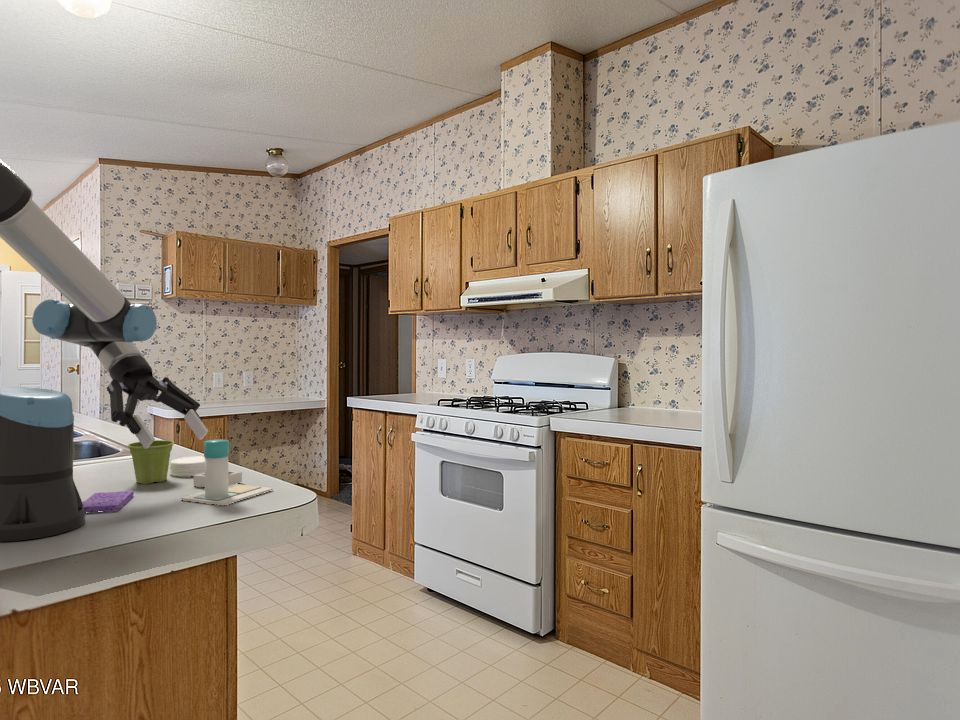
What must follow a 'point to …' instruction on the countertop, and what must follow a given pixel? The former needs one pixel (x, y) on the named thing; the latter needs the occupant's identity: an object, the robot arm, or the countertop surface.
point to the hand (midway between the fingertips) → (178, 439)
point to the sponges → (107, 501)
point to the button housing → (232, 478)
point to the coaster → (187, 466)
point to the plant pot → (151, 461)
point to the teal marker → (216, 468)
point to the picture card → (234, 494)
